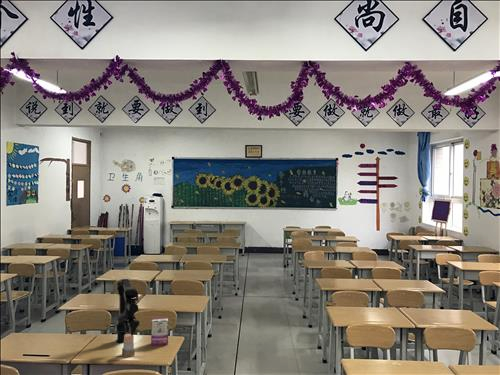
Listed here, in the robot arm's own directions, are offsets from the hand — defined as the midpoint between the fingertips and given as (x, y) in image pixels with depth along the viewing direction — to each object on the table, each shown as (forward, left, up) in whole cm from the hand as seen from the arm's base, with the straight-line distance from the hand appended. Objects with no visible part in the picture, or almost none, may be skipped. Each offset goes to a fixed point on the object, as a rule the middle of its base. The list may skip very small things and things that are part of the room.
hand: (129, 333), depth 277 cm
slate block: (+2, -1, -9) cm, 9 cm away
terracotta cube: (+2, -1, -5) cm, 5 cm away
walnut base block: (+2, -1, -13) cm, 13 cm away
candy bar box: (-6, +23, -13) cm, 27 cm away
